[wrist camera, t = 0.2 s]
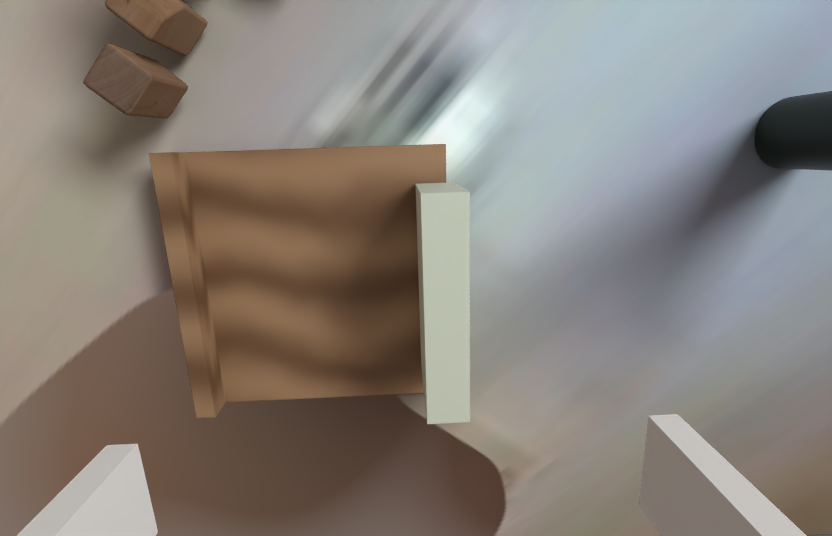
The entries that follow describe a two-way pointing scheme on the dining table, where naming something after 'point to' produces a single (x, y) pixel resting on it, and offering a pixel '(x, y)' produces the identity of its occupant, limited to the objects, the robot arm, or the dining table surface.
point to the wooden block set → (146, 58)
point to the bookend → (444, 299)
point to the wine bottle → (797, 133)
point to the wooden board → (296, 269)
